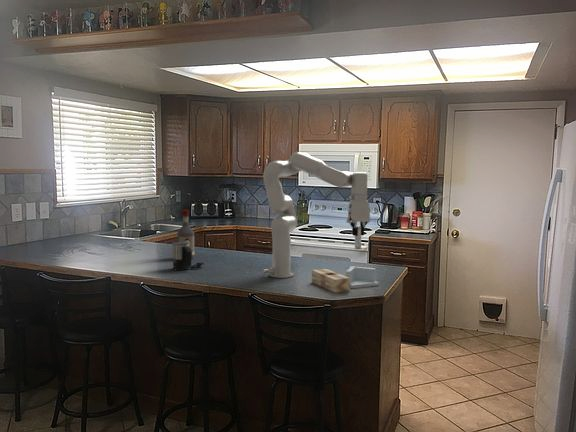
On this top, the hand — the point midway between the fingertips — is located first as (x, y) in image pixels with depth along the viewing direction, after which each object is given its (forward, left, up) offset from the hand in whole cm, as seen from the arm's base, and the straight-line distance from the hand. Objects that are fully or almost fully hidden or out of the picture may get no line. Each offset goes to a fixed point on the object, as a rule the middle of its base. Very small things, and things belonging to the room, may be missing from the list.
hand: (358, 235), depth 233 cm
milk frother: (-67, +67, -24) cm, 98 cm away
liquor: (-62, +95, -24) cm, 116 cm away
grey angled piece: (0, -1, -24) cm, 24 cm away
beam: (-15, 0, -24) cm, 28 cm away
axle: (0, 0, -7) cm, 7 cm away
